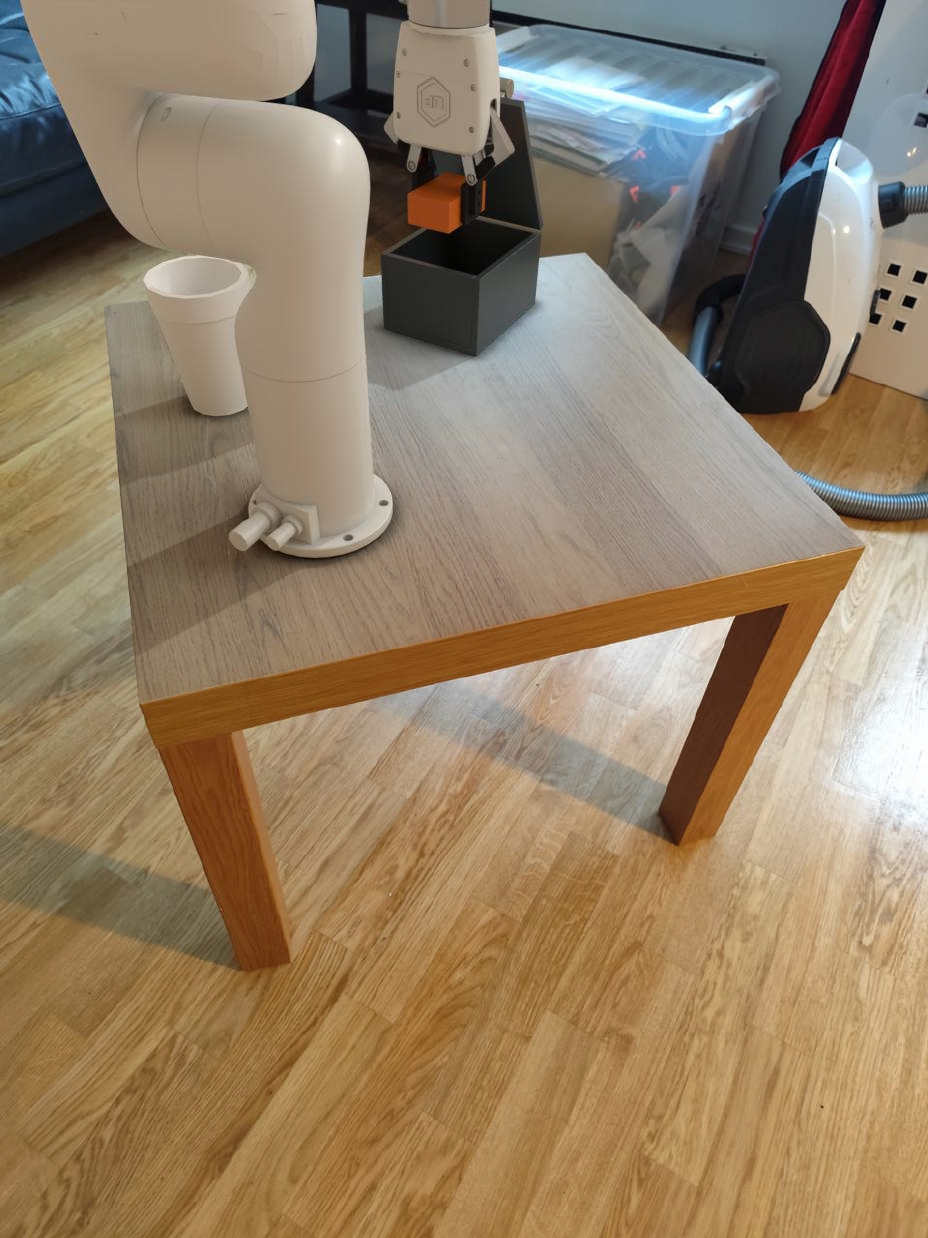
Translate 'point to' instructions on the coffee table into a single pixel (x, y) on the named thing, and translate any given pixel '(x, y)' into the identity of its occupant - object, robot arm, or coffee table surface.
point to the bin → (460, 283)
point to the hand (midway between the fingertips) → (446, 212)
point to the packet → (438, 203)
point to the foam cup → (202, 327)
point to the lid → (506, 169)
